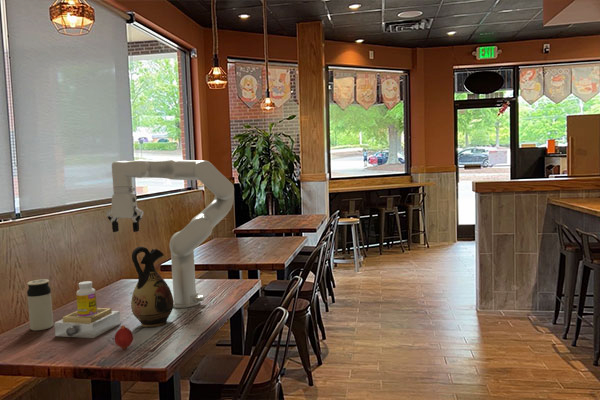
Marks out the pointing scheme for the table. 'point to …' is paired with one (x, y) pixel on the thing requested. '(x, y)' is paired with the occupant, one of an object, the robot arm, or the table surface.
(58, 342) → the table surface
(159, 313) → the ceramic jug
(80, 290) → the supplement bottle
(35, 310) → the travel mug
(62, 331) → the white gold-rimmed box
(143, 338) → the table surface
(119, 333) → the onion
